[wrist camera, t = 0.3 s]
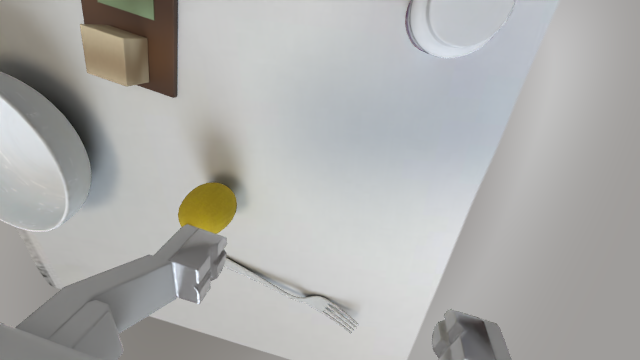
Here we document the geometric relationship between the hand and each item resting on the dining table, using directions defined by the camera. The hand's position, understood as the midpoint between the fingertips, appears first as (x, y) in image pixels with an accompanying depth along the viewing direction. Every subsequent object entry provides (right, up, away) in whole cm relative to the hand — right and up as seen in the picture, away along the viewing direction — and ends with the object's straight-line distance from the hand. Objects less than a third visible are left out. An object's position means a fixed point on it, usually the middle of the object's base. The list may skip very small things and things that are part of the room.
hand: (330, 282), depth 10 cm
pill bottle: (+9, +17, +13) cm, 23 cm away
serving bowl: (-37, +9, +28) cm, 47 cm away
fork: (-6, -12, +31) cm, 34 cm away
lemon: (-12, +2, +25) cm, 28 cm away
